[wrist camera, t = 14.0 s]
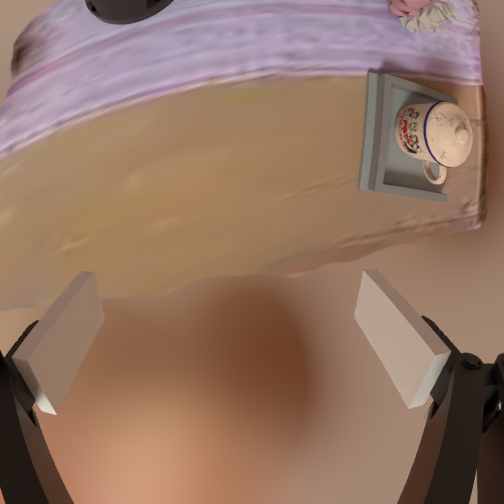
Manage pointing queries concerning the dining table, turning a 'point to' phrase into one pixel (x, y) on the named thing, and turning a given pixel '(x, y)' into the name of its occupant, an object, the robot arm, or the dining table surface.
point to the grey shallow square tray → (394, 140)
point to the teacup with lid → (434, 135)
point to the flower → (422, 13)
